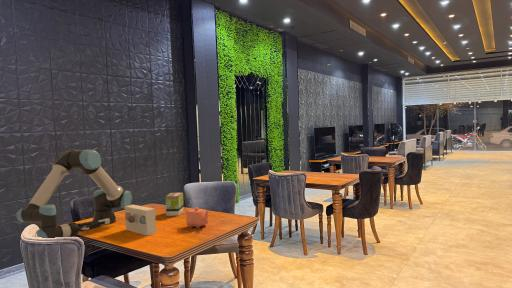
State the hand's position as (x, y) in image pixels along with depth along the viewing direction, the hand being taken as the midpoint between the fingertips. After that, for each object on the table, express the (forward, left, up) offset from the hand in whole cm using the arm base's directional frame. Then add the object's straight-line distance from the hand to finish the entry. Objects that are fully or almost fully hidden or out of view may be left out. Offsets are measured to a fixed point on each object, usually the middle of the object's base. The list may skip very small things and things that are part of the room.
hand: (109, 220), depth 216 cm
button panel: (+8, +16, -9) cm, 20 cm away
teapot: (+31, +43, -9) cm, 54 cm away
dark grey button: (+16, +13, -2) cm, 21 cm away
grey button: (+8, +10, -2) cm, 13 cm away
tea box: (-12, +58, -9) cm, 60 cm away
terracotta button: (0, +13, -2) cm, 13 cm away
